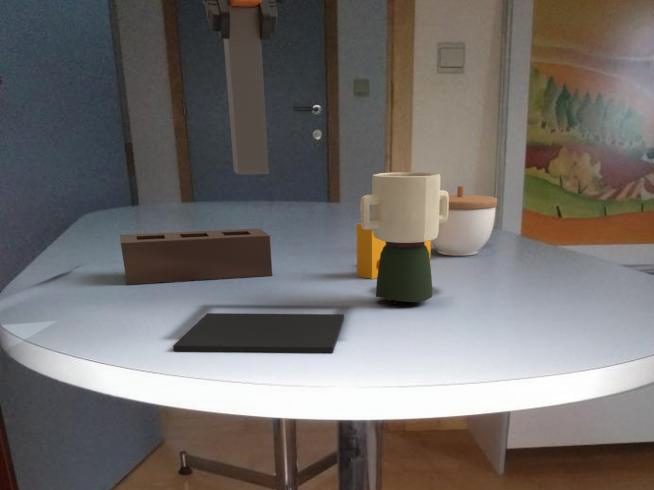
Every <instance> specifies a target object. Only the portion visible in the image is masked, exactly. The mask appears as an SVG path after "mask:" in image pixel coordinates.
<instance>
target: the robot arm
mask: <svg viewBox="0 0 654 490" xmlns="http://www.w3.org/2000/svg"><path fill="white" fill-rule="evenodd" d="M288 2H289V0H262V2H261V3H259V4H258V5H257V6H255V7H259V20H260V36H261V41H270V40H271V34H275V33H276V30H277V23H278V16H279V15H278V13H279V11H278V8H277V7H278V6H277V4H281V5H285V4H287V3H288ZM202 3H203V4H204V7H205V8H204V9H205V13H206V16H207V21H208V27H209V28H210V29H211V31H212V32H218V36H219V39H220V40H224V39H229V37H230V12H229V7H228V3H227V0H202Z"/></svg>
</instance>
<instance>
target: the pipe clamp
mask: <svg viewBox="0 0 654 490" xmlns="http://www.w3.org/2000/svg"><path fill="white" fill-rule="evenodd" d="M385 245H386V242H385V241H382V240H379V239H377V238H375V236H374V234H373V231H372V229H369V230H365V229H362V226H361V223H360V222H359V223H356V277H357V278H363V279H370V280H375V279H377V276H378V269H379V262H380V254H381V252H382V249H383V247H384V246H385ZM424 245H425V246H426V247H427V249H428V251H429V257H430V258H431V251H432V250H431V249H432V247H431V246H432V243H431V240H430V241H426V242H424Z"/></svg>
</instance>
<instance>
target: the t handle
mask: <svg viewBox="0 0 654 490" xmlns="http://www.w3.org/2000/svg"><path fill="white" fill-rule="evenodd" d="M261 2H262V0H227V3H228V7H229V12H230V37H229V39H223V48H224V49H223V50H224V62H225V75H226V89H227V100H228V112H229V113H228V114H229V124H230V125H229V126H230V137H231V138H230V139H231V153H232V163H233V164H232V165H233V172H234V174H236V175H242V176H243V175H269V173H270V170H269V154H268V153H269V152H268V151H269V150H268V135H267V133H268V132H267V118H266V104H265V103H266V101H265V85H264V84H265V83H264V66H263V51H262V50H263V48H262V40H261V36H260V20H259V7H255V6H257V5H258V4H259V3H261Z"/></svg>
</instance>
